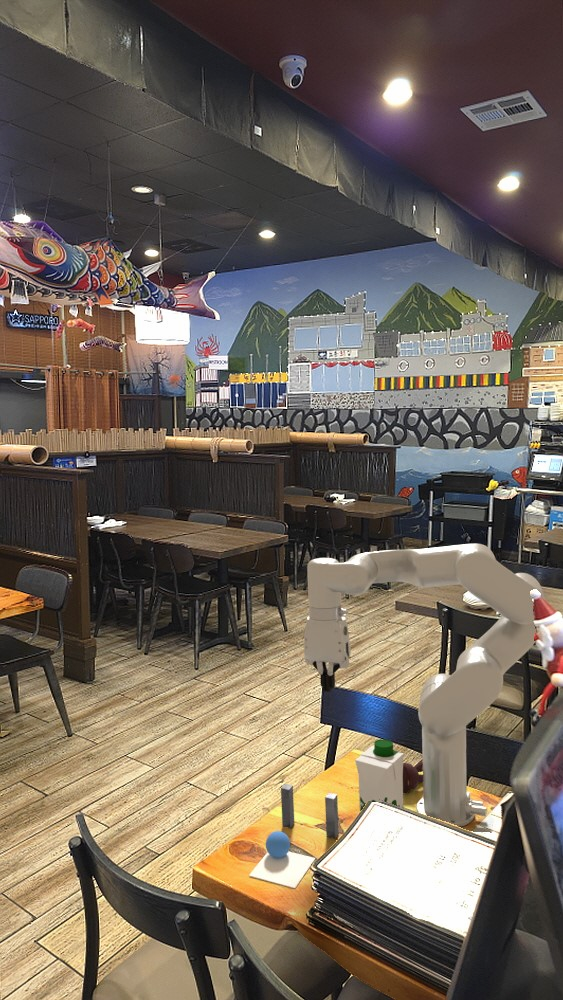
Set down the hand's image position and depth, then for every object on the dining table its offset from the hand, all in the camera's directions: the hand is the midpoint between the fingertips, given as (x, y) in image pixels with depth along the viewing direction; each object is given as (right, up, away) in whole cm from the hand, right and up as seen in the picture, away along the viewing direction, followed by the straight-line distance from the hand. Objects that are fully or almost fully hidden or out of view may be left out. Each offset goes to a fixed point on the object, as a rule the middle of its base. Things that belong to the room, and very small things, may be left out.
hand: (328, 689), depth 161 cm
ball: (-12, -27, -18) cm, 34 cm away
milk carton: (+11, -28, -12) cm, 33 cm away
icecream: (+19, -26, +6) cm, 33 cm away
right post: (0, -28, -11) cm, 31 cm away
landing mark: (-11, -30, -21) cm, 38 cm away
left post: (-9, -28, -7) cm, 31 cm away
